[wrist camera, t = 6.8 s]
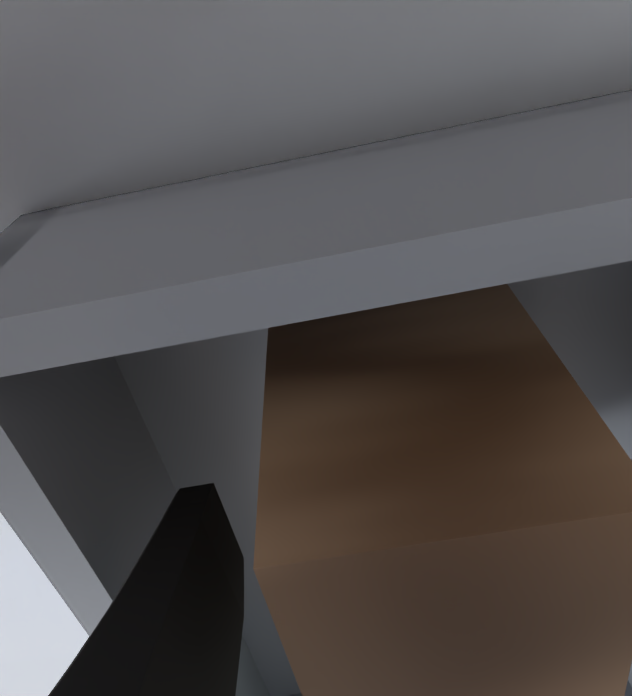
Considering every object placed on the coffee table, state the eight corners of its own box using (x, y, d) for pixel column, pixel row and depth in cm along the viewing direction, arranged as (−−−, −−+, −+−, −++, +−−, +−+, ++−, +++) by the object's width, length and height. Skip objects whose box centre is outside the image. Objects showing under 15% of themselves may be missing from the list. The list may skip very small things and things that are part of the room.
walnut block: (311, 469, 14) (323, 750, 9) (269, 309, 12) (253, 568, 6) (498, 439, 14) (620, 712, 9) (496, 268, 11) (664, 507, 6)
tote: (254, 694, 21) (246, 855, 17) (21, 215, 11) (-122, 342, 7) (627, 641, 20) (707, 800, 16) (732, 69, 10) (1002, 126, 6)
